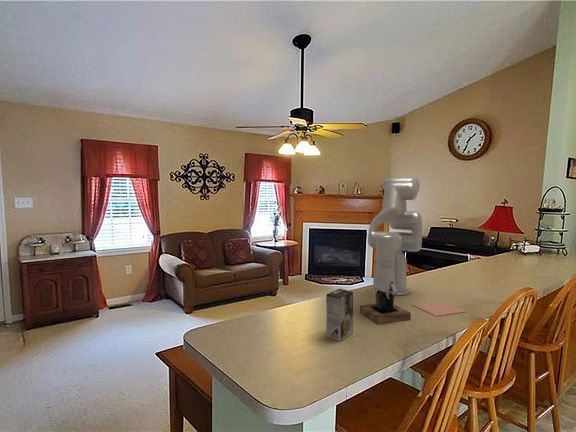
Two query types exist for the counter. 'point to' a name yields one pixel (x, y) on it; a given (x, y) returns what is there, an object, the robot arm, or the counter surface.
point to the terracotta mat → (438, 308)
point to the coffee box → (339, 314)
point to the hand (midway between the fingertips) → (384, 304)
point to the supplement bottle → (382, 303)
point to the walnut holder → (385, 314)
